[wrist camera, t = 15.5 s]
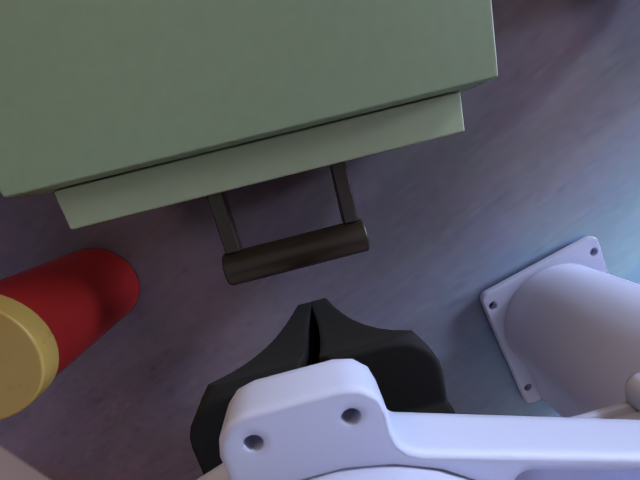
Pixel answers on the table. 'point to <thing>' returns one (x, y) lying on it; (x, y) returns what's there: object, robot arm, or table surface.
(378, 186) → the table surface
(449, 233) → the table surface
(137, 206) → the drawer
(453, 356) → the table surface
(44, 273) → the tea tin
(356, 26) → the cabinet
